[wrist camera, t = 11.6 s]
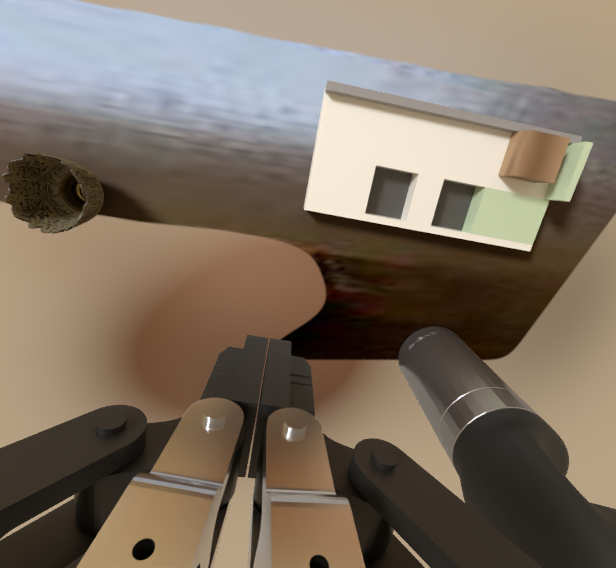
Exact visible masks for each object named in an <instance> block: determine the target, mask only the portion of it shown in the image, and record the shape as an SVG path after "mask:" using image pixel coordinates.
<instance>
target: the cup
mask: <svg viewBox="0 0 616 568" xmlns="http://www.w3.org/2000/svg"><path fill="white" fill-rule="evenodd" d="M22 156H23V158H21V159H15V160H12V161H10V162H8V164H7V169H8V172H7V173H4V174H3V175H2V176H1V179H2V180H3V181H4V182H5V181H6V183H8V182H9V183H10V186H9V188H8V189H9V190H10V193H11V194H10V195H8V196H7V195H6V196H5V202H7V203H8V204H10V205H12V208H11V210H12V213H13V215H14V217H16V218H18V219H20V220H23V221H26V222H28V223H29V225H28V226H29V228H41V232H43V233H51V232H52V233H58V232H63V231H68V230H70V229H72V228H74V227H76V226H79V225H81V224H83V223H85V222H87V221H89V220H90V219H92V218H93V217H95V216H96V215H97V214H98V213H99V211H100V210H101V208H102V205H103V202H104V190H103V187H102V185H101V183H100V182H99V180H98V179H97V177H96V176H95V175H94V174H93V173H92V172H91V171H90V170H88V169H87V168H85V167H84V166H82V165H80V164H77V163H75V162H72V161H69V160H65V159H62V158H58V157H53V156H50V155H47V154H42V153H35V155H31V154H23V155H22ZM9 183H8V184H9ZM83 191H84V192H83ZM84 193H85V194H84ZM85 195H86V196H85Z"/></svg>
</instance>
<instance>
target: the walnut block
mask: <svg viewBox="0 0 616 568" xmlns="http://www.w3.org/2000/svg"><path fill="white" fill-rule="evenodd" d="M570 139H571V138H568V137H563V136H558V135H554V134H549V133H544V132H539V131H535V130H525V131H520V132H515V133H512V134H511V137H510V141H509V144H508V147H507V150H506V153H505V156H504V159H503V162H502V165H501V168H500V171H499V174H498V176H503V177H508V178H513V179H518V180H523V181H528V182H533V183H554V181H555V179H556V176H557V173H558V171H559V168H560V165H561V163H562V160H563V157H564V155H565V152H566V149H567V147H568V144H569V141H570Z"/></svg>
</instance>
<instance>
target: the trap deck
mask: <svg viewBox="0 0 616 568" xmlns="http://www.w3.org/2000/svg"><path fill="white" fill-rule="evenodd" d="M525 130H535V131H539V132H544V133H549V134H554V135H558V136H563V137H568V138H571V139H570V141H569V144H568V147H567V149H566V152H565V155H564V157H563V160H562V163H561V165H560V168H559V171H558V173H557V176H556V179H555V181H554V183H533V182H528V181H523V180H518V179H513V178H508V177H503V176H498V174H499V171H500V168H501V165H502V162H503V159H504V156H505V153H506V150H507V147H508V144H509V141H510V137H511V134H512V133H515V132H520V131H525ZM581 139H582V137H581V136H577V135H572V134H568V133H563V132H559V131H554V130H549V129H545V128H540V127H536V126H531V125H527V124H522V123H518V122H513V121H509V120H504V119H500V118H495V117H491V116H486V115H482V114H477V113H473V112H468V111H464V110H459V109H455V108H450V107H445V106H441V105H436V104H432V103H427V102H423V101H418V100H414V99H409V98H405V97H400V96H396V95H391V94H387V93H382V92H378V91H373V90H369V89H364V88H360V87H355V86H351V85H346V84H341V83H337V82H332V81H327V84H326V87H325V90H324V96H323V101H322V107H321V113H320V118H319V124H318V130H317V135H316V141H315V147H314V152H313V158H312V163H311V169H310V175H309V180H308V186H307V192H306V197H305V203H304V210H308V211H314V212H319V213H324V214H330V215H335V216H341V217H346V218H351V219H357V220H362V221H368V222H373V223H379V224H384V225H389V226H395V227H400V228H406V229H411V230H416V231H422V232H427V233H433V234H438V235H443V236H449V237H454V238H460V239H465V240H470V241H476V242H481V243H487V244H492V245H497V246H503V247H508V248H514V249H519V250H524V251H530V250H531V248H532V245H533V243H534V240H535V237H536V235H537V232H538V230H539V227H540V224H541V222H542V219H543V217H544V214H545V211H546V209H547V206H548V204H549V201H550V200H554V201H565V202H570V200H571V198H572V195H573V193H574V190H575V188H576V185H577V183H578V180H579V178H580V175H581V173H582V170H583V168H584V165H585V163H586V160H587V158H588V155H589V153H590V150H591V148H592V145H593V143H591V142H581Z"/></svg>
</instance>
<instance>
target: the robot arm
mask: <svg viewBox="0 0 616 568" xmlns="http://www.w3.org/2000/svg"><path fill="white" fill-rule="evenodd" d="M267 344H268V338H264V337H257V336H251V335H247V338H246V342H245V345H244V349H240V348H233V347H228V348H227V349H226V350H224V351H223V352H221V353H220V354H219V356H218V359H217V361H216V364H215V366H214V368H213V371H212V373H211V375H210V378H209V380H208V383H207V385H206V387H205V390H204V392H203V394H202V397H201V399H200V401H197V402H195V403H194V404H192V405H191V406H190V407H189V408H188V409H187V411H186V412H185V414H184V416H183V417H181V418H178V419H175V420H171V421H166V422H157V423H147V418H146V416H145V414H144V413H143V412H142V411H141V410H139V409H137V408H135V407H132V406H127V405H112V406H107V407H103V408H99V409H97V410H94V411H92V412H89V413H87V414H84V415H82V416H79V417H77V418H74V419H72V420H69V421H67V422H64V423H62V424H59V425H57V426H54V427H52V428H50V429H47V430H45V431H42V432H40V433H37V434H35V435H32V436H30V437H27V438H25V439H23V440H20V441H17V442H15V443H12V444H10V445H7V446H5V447H2V448H0V539H1V538H2V537H3V536H4V535H5V534H6V533H8V532H9V531H11V530H12V529H14V528H15V527H17V526H19V525H20V524H22V523H24V522H26V521H28V520H30V519H31V518H33V517H35V516H37V515H38V514H40V513H42V512H44V511H46V510H47V509H49V508H51V507H53V506H54V505H56V504H58V503H60V502H62V501H63V500H65V499H67V498H68V497H70V496H72V495H74V499H72V500H70V501H69V502H67V503H65V504H63V505H62V506H60V507H58V508H57V509H55V510H53V511H51V512H49V513H48V514H46V515H45V516H42V517H41V518H39V519H37V520H35V521H34V522H32V523H30V524H29V525H27V526H25V527H23V528H22V529H20V530H18V531H16V532H14V533H13V534H11V535H9V536H7V537H6V538H4V539H2V540H1V541H0V568H213V564H214V561H215V557H216V554H217V550H218V546H219V543H220V539H221V535H222V532H223V529H224V525H225V521H226V518H227V514H228V511H229V507H230V502H231V498H232V496H233V494H234V492H235V487H236V482H237V477H245V475H246V470H247V464H248V458H249V452H250V445H251V440H252V435H253V429H254V423H255V417H256V412H257V406H258V400H259V394H260V388H261V381H262V375H263V369H264V363H265V357H266V350H267ZM398 360H399V366H400V369H401V371H402V373H403V375H404V377H405V378H406V380H407V382H408V384H409V386H410V388H411V389H412V391H413V393H414V395H415V397H416V399H417V400H418V402H419V404H420V406H421V408H422V410H423V411H424V413H425V415H426V417H427V419H428V420H429V422H430V424H431V426H432V427H433V430H434V431H435V433H436V435H437V437H438V439H439V441H440V442H441V444H442V446H443V447H444V449H445V451H446V453H447V455H448V457H449V458H450V460H451V462H452V464H453V466H454V468H455V469H456V471H457V473H458V475H459V477H460V481H461V486H462V491H463V496H464V500H465V503H464V502H463V501H462V500H460V499H459V498H458V497H457V496H456V495H454V494H453V493H452V492H451V491H450V490H448V489H447V488H446V487H445V486H444V485H442V484H441V483H440V482H439V481H438V480H436V479H435V478H434V477H433V476H431V475H430V474H429V473H428V472H427V471H425V470H424V469H423V468H422V467H421V466H419V465H418V464H417V463H416V462H415V461H413V460H412V459H411V458H410V457H409V456H407V455H406V454H405V453H404V452H403V451H401V450H400V449H399V448H397V447H396V446H394V445H393V444H391V443H389V442H386V441H384V440H380V439H373V438H372V439H365V440H362V441H360V442H359V443H358V444H357V445H356V446H355V448H354V449H352V448H349V447H347V446H344V445H342V444H339V443H337V442H335V441H333V440H331V439H330V438H328V437H327V436H326V435H325V434H324V433H323V431H322V427H321V424H320V423H319V421H318V420H317V419H316V418H315V412H314V399H313V388H312V379H311V378H312V376H311V367H310V365H309V364H308V363H307V361H306V360H305V359H304V358H301V357H294V356H291V341H284V340H278V339H271V338H270V343H269V349H268V354H267V360H266V366H265V372H264V377H263V384H262V390H261V395H260V402H259V408H258V415H257V421H256V428H255V434H254V441H253V447H252V453H251V460H250V466H249V473H248V478H256V479H255V487H254V494H253V499H252V504H251V513H250V533H249V552H248V568H424V567H423V565H422V564H421V563H420V562H419V561H418V560H417V559H416V558H415V557H414V556H413V555H412V554H411V553H410V552H409V551H408V549H407V548H406V547H405V546H404V545H403V544H402V543H401V542H400V541H399V540H398V539H397V538H396V537H395V536H394V535H393V531H394V530H395V531H396V532H397V533H398V534H399V535H400V536H401V537H402V538H403V539H404V540H405V541H406V542H407V543H408V544H409V546H411V547H412V549H413V550H414V551H415V552H416V553H417V554H418V555H419V556H420V557H421V558H422V559H423V560H424V561H425V562H426V563H427V564H428V565H429V566H430V567H431V568H616V509H613V508H609V507H605V506H601V505H597V504H593V503H589V502H588V501H587V500H586V499H585V498H584V497H583V496H582V495H581V494H580V493H579V491H578V490H576V488H575V487H574V486H573V485H572V484H571V483H570V481H569V480H568V479H567V478H566V477H565V476H566V473H567V470H568V465H569V456H568V452H567V448H566V446H565V444H564V442H563V441H562V439H561V438H560V437H559V435H558V434H557V433H556V432H555V431H554V430H553V429H552V428H551V427H550V426H549V425H548V424H547V423H546V422H545V421H544V420H543V419H542V418H541V417H540V416H539V415H538V414H537V413H535V411H534V410H533V409H532V408H531V407H530V406H529V405H528V404H527V403H526V402H525V401H523V400H522V399H521V398H520V397H519V396H518V395H517V394H516V393H515V392H514V391H513V390H512V389H511V388H510V387H509V386H508V385H507V384H506V383H505V382H504V381H503V380H502V379H501V378H500V377H499V376H498V375H497V374H496V373H495V372H493V370H491V369H490V368H489V366H488V365H487V364H485V363H484V362H483V361H482V360H481V359H480V358H479V357H478V356H477V355H476V354H475V353H474V352H473V351H472V350H471V349H470V348H469V347H468V346H467V345H466V344H465V343H464V342H463V341H462V340H461V339H460V338H459V337H458V336H457V335H456V334H455V333H454V332H452V331H451V330H449V329H446V328H444V327H437V326H434V327H426V328H422V329H420V330H418V331H416V332H414V333H413V334H412V335H410V336H409V337H408V338H407V339H406V340H405V342H404V343H403V345H402V346H401V349H400V352H399V357H398Z"/></svg>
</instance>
